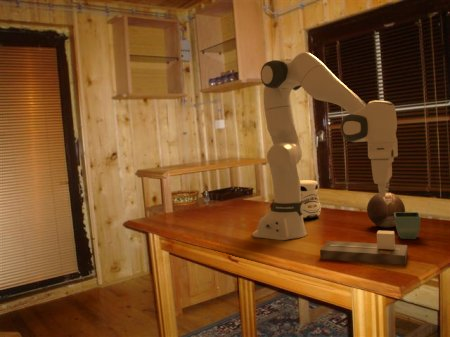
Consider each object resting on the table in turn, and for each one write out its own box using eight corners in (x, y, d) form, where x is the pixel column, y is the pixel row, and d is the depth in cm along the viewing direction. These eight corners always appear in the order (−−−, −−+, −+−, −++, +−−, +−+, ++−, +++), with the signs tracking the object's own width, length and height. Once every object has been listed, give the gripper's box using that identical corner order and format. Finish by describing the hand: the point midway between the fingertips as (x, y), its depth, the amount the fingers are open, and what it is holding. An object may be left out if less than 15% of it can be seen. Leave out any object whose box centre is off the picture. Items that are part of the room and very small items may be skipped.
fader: (377, 248, 132) (376, 233, 131) (378, 245, 135) (378, 230, 135) (394, 249, 129) (393, 234, 129) (395, 246, 133) (394, 231, 132)
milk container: (315, 222, 192) (313, 184, 191) (280, 220, 201) (278, 184, 199) (325, 215, 207) (323, 179, 206) (293, 213, 216) (291, 180, 214)
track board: (320, 258, 136) (320, 249, 136) (328, 249, 147) (328, 240, 147) (405, 265, 124) (405, 255, 124) (407, 254, 135) (407, 244, 135)
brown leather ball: (379, 232, 165) (377, 196, 164) (361, 225, 180) (359, 191, 179) (413, 229, 167) (412, 193, 166) (392, 222, 182) (391, 188, 181)
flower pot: (395, 240, 153) (394, 216, 152) (394, 234, 161) (393, 212, 160) (421, 241, 149) (420, 216, 149) (419, 235, 158) (418, 212, 157)
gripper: (376, 150, 141) (377, 189, 142) (367, 153, 122) (369, 199, 123) (395, 149, 138) (397, 190, 139) (390, 153, 120) (391, 199, 121)
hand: (384, 194), depth 131 cm, fingers open, 8 cm apart
